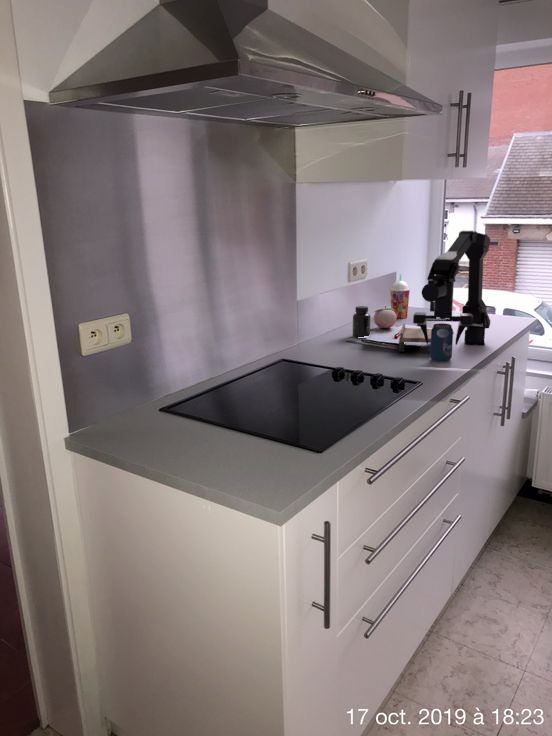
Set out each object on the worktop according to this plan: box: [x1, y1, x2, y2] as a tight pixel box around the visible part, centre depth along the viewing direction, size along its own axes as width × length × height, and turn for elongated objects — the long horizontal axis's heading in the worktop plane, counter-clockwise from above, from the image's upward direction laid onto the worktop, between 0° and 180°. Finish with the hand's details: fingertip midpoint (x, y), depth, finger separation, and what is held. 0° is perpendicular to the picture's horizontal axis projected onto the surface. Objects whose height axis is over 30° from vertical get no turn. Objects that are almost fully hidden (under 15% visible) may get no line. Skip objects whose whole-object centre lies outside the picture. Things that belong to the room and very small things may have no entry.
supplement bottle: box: [352, 305, 371, 339], centre depth 240 cm, size 7×7×12 cm
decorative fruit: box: [373, 305, 397, 329], centre depth 251 cm, size 9×8×10 cm
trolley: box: [398, 323, 432, 353], centre depth 222 cm, size 13×17×7 cm
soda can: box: [429, 323, 454, 363], centre depth 205 cm, size 7×7×12 cm
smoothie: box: [390, 273, 411, 320], centre depth 269 cm, size 8×8×20 cm
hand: (441, 344), depth 205 cm, fingers open, 9 cm apart
